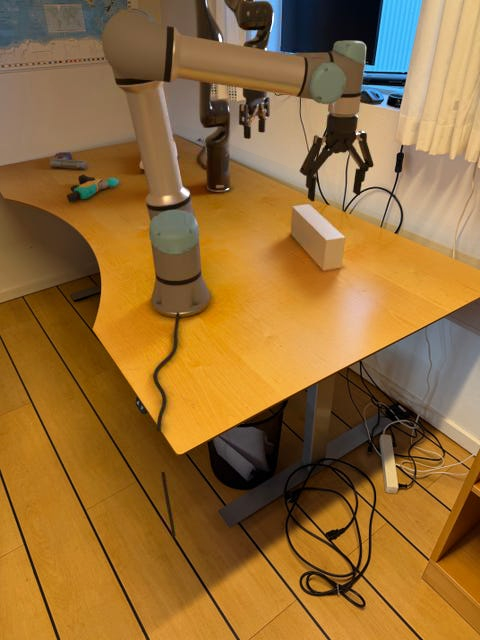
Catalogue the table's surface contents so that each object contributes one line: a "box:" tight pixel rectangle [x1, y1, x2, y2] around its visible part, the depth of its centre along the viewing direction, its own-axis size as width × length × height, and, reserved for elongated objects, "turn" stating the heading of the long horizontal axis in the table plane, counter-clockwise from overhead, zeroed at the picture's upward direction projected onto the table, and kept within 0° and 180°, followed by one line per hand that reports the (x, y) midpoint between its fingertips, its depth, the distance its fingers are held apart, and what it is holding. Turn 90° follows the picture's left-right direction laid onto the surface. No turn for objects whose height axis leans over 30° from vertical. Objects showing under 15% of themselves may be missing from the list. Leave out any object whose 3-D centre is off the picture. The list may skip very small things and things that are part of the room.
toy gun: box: [48, 151, 87, 170], centre depth 217 cm, size 4×19×15 cm
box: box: [290, 203, 346, 271], centre depth 146 cm, size 25×6×10 cm, turn 17°
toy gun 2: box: [66, 173, 120, 203], centre depth 188 cm, size 4×26×15 cm
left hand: (333, 196), depth 129 cm, fingers open, 13 cm apart
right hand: (254, 135), depth 154 cm, fingers open, 8 cm apart
